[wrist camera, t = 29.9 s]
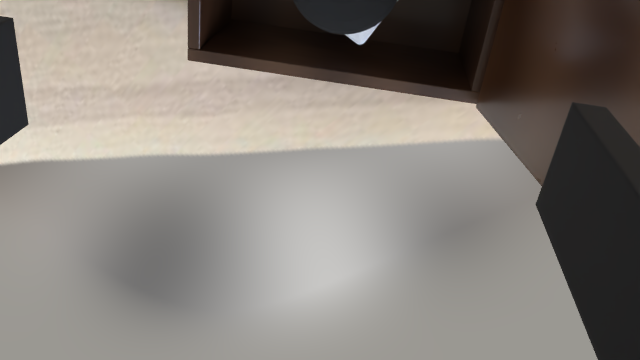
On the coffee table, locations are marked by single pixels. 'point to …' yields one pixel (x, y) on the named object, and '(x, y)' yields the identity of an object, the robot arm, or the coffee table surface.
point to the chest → (354, 44)
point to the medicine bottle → (346, 16)
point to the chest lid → (560, 71)
